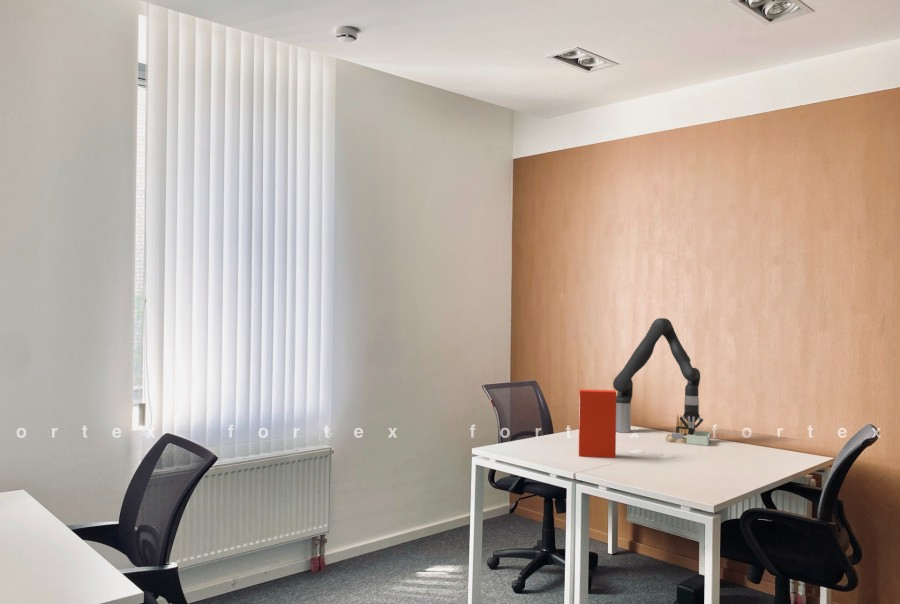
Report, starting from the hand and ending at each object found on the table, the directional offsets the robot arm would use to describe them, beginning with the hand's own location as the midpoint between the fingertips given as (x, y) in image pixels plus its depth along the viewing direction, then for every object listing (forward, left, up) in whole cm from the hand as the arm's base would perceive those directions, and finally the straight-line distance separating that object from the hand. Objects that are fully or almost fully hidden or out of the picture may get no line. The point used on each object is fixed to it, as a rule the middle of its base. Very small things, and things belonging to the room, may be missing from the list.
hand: (691, 434), depth 369 cm
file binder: (-39, -66, -4) cm, 76 cm away
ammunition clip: (-5, +16, -4) cm, 17 cm away
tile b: (-7, -7, -1) cm, 10 cm away
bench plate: (-7, -4, -3) cm, 8 cm away
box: (+4, -4, -3) cm, 6 cm away
